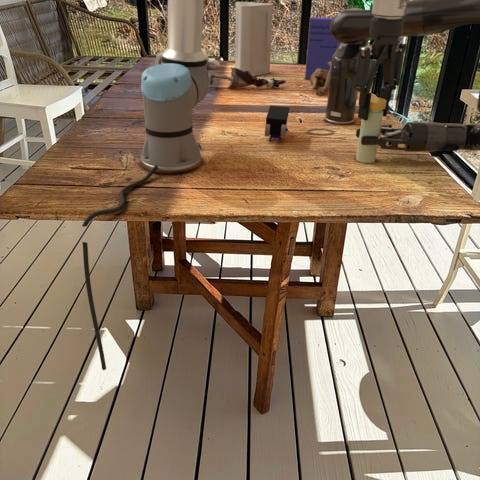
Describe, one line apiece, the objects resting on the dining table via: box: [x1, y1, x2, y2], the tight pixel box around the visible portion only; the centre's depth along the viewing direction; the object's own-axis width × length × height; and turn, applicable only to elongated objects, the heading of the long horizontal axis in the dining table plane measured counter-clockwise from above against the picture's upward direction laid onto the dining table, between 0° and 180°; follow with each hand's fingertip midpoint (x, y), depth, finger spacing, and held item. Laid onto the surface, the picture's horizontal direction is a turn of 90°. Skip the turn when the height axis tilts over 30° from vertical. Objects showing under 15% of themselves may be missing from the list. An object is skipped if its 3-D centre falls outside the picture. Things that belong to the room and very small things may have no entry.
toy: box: [155, 51, 221, 68], centre depth 223 cm, size 24×25×7 cm
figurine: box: [209, 66, 287, 89], centre depth 190 cm, size 24×8×30 cm
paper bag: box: [234, 1, 274, 77], centre depth 210 cm, size 19×15×28 cm
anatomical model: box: [309, 61, 331, 96], centre depth 186 cm, size 13×9×15 cm
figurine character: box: [264, 105, 290, 143], centre depth 140 cm, size 7×8×15 cm
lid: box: [369, 96, 386, 110], centre depth 119 cm, size 6×6×2 cm
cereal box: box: [304, 17, 339, 80], centre depth 202 cm, size 17×5×24 cm, turn 86°
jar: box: [355, 109, 384, 164], centre depth 123 cm, size 5×5×15 cm
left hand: (372, 116), depth 121 cm, fingers open, 6 cm apart
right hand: (359, 136), depth 124 cm, fingers closed on jar, 5 cm apart
